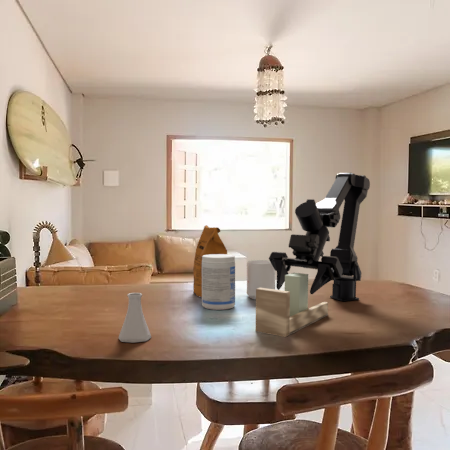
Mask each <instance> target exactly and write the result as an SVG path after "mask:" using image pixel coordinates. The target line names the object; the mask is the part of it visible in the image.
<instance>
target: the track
mask: <svg viewBox="0 0 450 450" xmlns="http://www.w3.org/2000/svg"><path fill="white" fill-rule="evenodd" d="M328 316H329V302H327V301H323V302H320V303H317V304H316V305H313V306H311V307H309V308H308V309H306V310H304V311H302V312H300V313H297V314H295V315H293V316H291V317H290V292H289V291H285V290H282V289H279V290H278V289H276V288H275V289H267V288H257V289H256V299H255V332H259V333H261V334H262V333H263V334H268V335H269V334H270V335H272V336H273V335H274V336H277V337H283V338H286V337H288V336H290V335H291V334H294V333H296V332H298V331H300V330H302V329H304V328H306V327H308V326H310V325H311V324H312V325H313V323H315V322H318V321H319V320H322V319H323V318H325V317H328Z"/></svg>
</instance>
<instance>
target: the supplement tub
mask: <svg viewBox="0 0 450 450" xmlns="http://www.w3.org/2000/svg"><path fill="white" fill-rule="evenodd" d="M201 305H202V307H203V308H205V309H207V310H212V311H219V310H220V311H222V310H229V309H232V308H234V307H235V305H236V259H235V255H234V254H228V253H227V254H208V255H203V256H202V297H201Z"/></svg>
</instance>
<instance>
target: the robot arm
mask: <svg viewBox="0 0 450 450" xmlns="http://www.w3.org/2000/svg"><path fill="white" fill-rule="evenodd" d="M370 185H371V182H370V179H369V178H368V177H367V176H366V175H363V174H362V175H361V174H360V175H359V174H355V173H352V172H339V173H337V174H335V180H334V182H333V184H332V185H331V187H330V189H329V190H328V192H327V194H326V196H325V197H324V199H322V200H320V201H319V202H316V200H315V199H314V198H312V199H309V198H308V199H306V201H305V202H302V203H301V204H299V205H298V206H296V208H294V214H295V216H296V218H297V220H298V223H299V225H300V227H301V229H302V230H303V231H305V234H294V233H293V234H291V235H290V237H289V242H288V248H291V250H292V255H293V256H295V257H288V254H287V253H286V252H283V251H272V252H271V253H270V254H269V257H268V260H269V261H270V262H271V264H272V266H273V268H274V269H275V272H276V284H275V288H276V290H281V288H282V287H283V285H284V284H285V275H287V274H290V273H289V271H290V270H291V267H297V268H303V269H309V270H317V272H316V275H315V277H314V279H313V281H312V284H311V287H310V290H309V293H310V295H314V294H315V293H316V292H317V291H318V290H320V289H321V288H322V287H323V286H325V285H327V284H328V283H329V282H331V281H333V283H332V294H331V295H329V296H330V298H331V299H334V300H338V301H340V302H348V301H349V302H350V301H357V300H358V301H359V300H360V298H359V297H358V296H357V282H361V279H362V271H361V267H360V265H359V263H358V260H359V259H358V255H357V253H356V251H355V249H354V248H355V240H356V236H357V235H356V233H357V228H358V227H357V226H358V220H359V213H360V208H361V207H360V206H361V204H362V203H363V202H364V200H365V199H366V198H367V196H368V191H369V190H370V187H371V186H370ZM342 204H343V211H342V215H341V213H340V209H341V206H342ZM341 216H342V217H341ZM340 219H341V221H340ZM340 222H341V224H340V229H339V236H338V241H337V242H338V243H337V245H336V247H335V248H331V250H330V252H329V253H330V254H329V255H324V254H325V253H324V248H325V246H326V242H330V241H331V238H330V231H329V229H328V228H336V227H337V225H338V224H339V223H340Z"/></svg>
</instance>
